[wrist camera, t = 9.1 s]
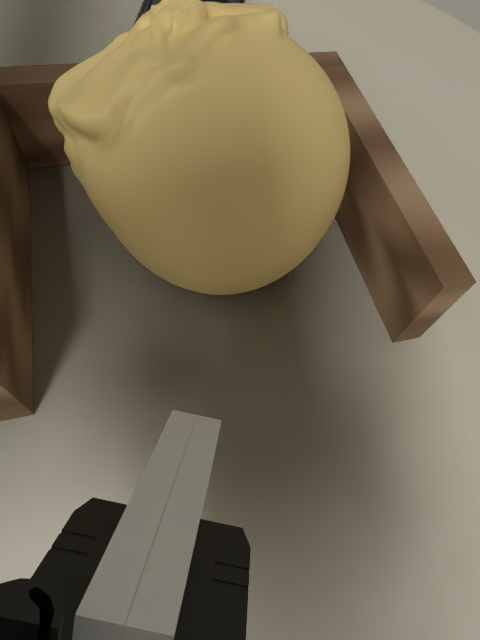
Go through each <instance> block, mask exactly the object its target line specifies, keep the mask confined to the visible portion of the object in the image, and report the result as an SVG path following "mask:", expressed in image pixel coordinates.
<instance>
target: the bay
mask: <svg viewBox="0 0 480 640" xmlns="http://www.w3.org/2000/svg"><path fill="white" fill-rule="evenodd" d="M309 54H310V55H311V56H312V57H313V58H314V59H315V60H316V62H317V63H318V64H319V65H320V66H321V68H322V69H323V70H324V72H325V73H326V74H327V76H328V77H329V79H330V81H331V82H332V84H333V86H334V88H335V90H336V91H337V94H338V96H339V98H340V100H341V103H342V106H343V109H344V112H345V115H346V119H347V124H348V130H349V137H350V166H349V174H348V180H347V184H346V189H345V192H344V195H343V199H342V201H341V204H340V207H339V209H338V211H337V214H336V216H335V218H336V220H337V222H338V224H339V227H340V229H341V231H342V233H343V235H344V237H345V240H346V242H347V244H348V246H349V248H350V250H351V253H352V255H353V257H354V259H355V261H356V263H357V266H358V268H359V270H360V272H361V274H362V276H363V279H364V281H365V283H366V285H367V287H368V289H369V292H370V294H371V296H372V298H373V300H374V303H375V305H376V307H377V309H378V311H379V313H380V316H381V318H382V320H383V322H384V324H385V326H386V329H387V331H388V333H389V335H390V337H391V339H392V342H398V341H403V340H408V339H413V338H418V337H420V336H421V335H422V334H423V333H424V332H425V331H426V330H427V329H428V328H429V327H430V326H431V325H432V324H433V323H434V322H435V321H436V320H438V319H439V318H440V317H441V316H442V315H443V314H444V313H445V312H446V311H447V310H448V309H449V308H450V307H451V306H452V305H453V304H454V303H455V302H456V301H457V300H458V299H459V298H460V297H461V296H462V295H463V294H464V293H465V292H466V291H467V290H468V289H469V288H470V287H472V286H473V285H474V284H475V283H476V281H475V279H474V277H473V276H472V274H471V272H470V271H469V269H468V268H467V266H466V264H465V263H464V261H463V259H462V258H461V256H460V254H459V253H458V251H457V249H456V248H455V246H454V245H453V243H452V241H451V240H450V238H449V236H448V235H447V233H446V231H445V230H444V228H443V226H442V225H441V223H440V221H439V220H438V218H437V217H436V215H435V213H434V212H433V210H432V208H431V207H430V205H429V203H428V202H427V200H426V198H425V197H424V195H423V194H422V192H421V190H420V189H419V187H418V185H417V184H416V182H415V180H414V179H413V177H412V175H411V174H410V172H409V171H408V169H407V167H406V166H405V164H404V162H403V161H402V159H401V157H400V156H399V154H398V152H397V151H396V149H395V147H394V146H393V144H392V143H391V141H390V139H389V138H388V136H387V134H386V133H385V131H384V129H383V128H382V126H381V124H380V123H379V121H378V120H377V118H376V116H375V115H374V113H373V111H372V110H371V108H370V106H369V105H368V103H367V101H366V100H365V98H364V97H363V95H362V93H361V92H360V90H359V88H358V87H357V85H356V83H355V82H354V80H353V78H352V77H351V75H350V74H349V72H348V70H347V69H346V67H345V65H344V64H343V62H342V60H341V59H340V57H339V55H338V54H337V52H336V51H335V52H314V53H309ZM78 64H79V63H77V64H55V65H34V66H12V67H0V421H2V420H7V419H12V418H17V417H22V416H27V415H32V414H34V392H33V340H32V288H31V236H30V184H29V168H39V167H50V166H61V165H71V163H70V160H69V158H68V157H67V155H66V153H65V151H64V142H65V139H64V136H63V134H62V133H61V132H60V131H59V130H58V128H57V127H56V125H55V123H54V119H53V117H52V115H51V113H50V111H49V107H48V98H49V96H50V93H51V91H52V88H53V86H54V84H55V82H56V81H57V79H58V78H59V77H60V76H61V75H63V74H64V73H65V72H67V71H68V70H70V69H71V68H73V67H75V66H76V65H78Z"/></svg>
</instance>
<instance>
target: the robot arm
mask: <svg viewBox="0 0 480 640" xmlns="http://www.w3.org/2000/svg"><path fill="white" fill-rule="evenodd" d="M221 421H222V420H219V419H214V418H209V417H204V416H200V415H195V414H190V413H185V412H181V411H176V410H172V412H171V414H170V416H169V419H168V421H167V423H166V425H165V427H164V429H163V431H162V433H161V435H160V437H159V440H158V442H157V444H156V446H155V448H154V450H153V452H152V454H151V456H150V458H149V460H148V463H147V465H146V467H145V469H144V471H143V473H142V475H141V477H140V479H139V481H138V484H137V486H136V488H135V490H134V492H133V494H132V496H131V498H130V500H129V502H128V505H125V504H120V503H116V502H111V501H106V500H102V499H97V498H92V499H90V500H89V501H87V502H86V503H85V504H83V505H82V506H81V507H79V508H78V509H76V510H75V511H74V512H73V514H72V515H71V517H70V518H69V520H68V521H67V523H66V525H65V526H64V528H63V529H62V532H61V534H59V535H58V537H57V539H56V540H55V542H54V543H53V545H52V547H51V550H49V551H48V553H47V554H46V556H45V557H44V559H43V560H42V562H41V563H40V565H39V567H38V568H37V570H36V571H35V573H34V574H33V576H32V577H31V579H22V578H20V579H16V580H12V581H9V582H5V583H1V584H0V640H246V622H247V603H248V584H249V565H250V545H249V543H248V540H247V538H246V535H245V533H244V531H243V528H240V527H235V526H230V525H226V524H221V523H216V522H212V521H207V520H202V519H201V517H202V513H203V508H204V503H205V499H206V494H207V489H208V484H209V479H210V475H211V470H212V465H213V460H214V455H215V450H216V445H217V441H218V436H219V431H220V426H221Z"/></svg>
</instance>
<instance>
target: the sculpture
mask: <svg viewBox="0 0 480 640" xmlns="http://www.w3.org/2000/svg"><path fill="white" fill-rule="evenodd" d="M48 107H49V111H50V113H51V115H52V117H53V119H54V123H55V125H56V127H57V128H58V130H59V131H60V132H61V133H62V134H63V136H64V139H65V142H64V151H65V153H66V155H67V157H68V158H69V160H70V163H71V169H72V171H73V173H74V175H75V176H76V178H77V179H78V180H79V181H80V182H81V184H82V185H83V187H84V188H85V191H86V193H87V195H88V197H89V198H90V200H91V202H92V204H93V205H94V207H95V208H96V210H97V211H98V213H99V214H100V216H101V217H102V218H103V220H104V221H105V222H106V224H107V225H108V226H109V228H110V229H111V230H112V231H113V233H114V234H115V235H116V237H117V238H118V239H119V240H120V242H121V243H122V244H123V246H124V247H125V248H126V249H127V250H128V251H129V252H130V253H131V254H132V255H133V257H135V258H136V259H137V260H138V261H139V262H140V263H141V264H142V265H143V266H145V267H146V268H147V269H148V270H150V271H151V272H153V273H154V274H156V275H157V276H159V277H161V278H162V279H164V280H166V281H168V282H170V283H172V284H174V285H176V286H179V287H182V288H184V289H187V290H191V291H195V292H199V293H204V294H212V295H231V294H238V293H244V292H248V291H252V290H255V289H258V288H260V287H263V286H265V285H268V284H270V283H272V282H274V281H276V280H278V279H279V278H281V277H283V276H284V275H286V274H287V273H289V272H290V271H291V270H293V269H294V268H295V267H296V266H297V265H299V264H300V263H301V262H302V261H303V260H304V259H305V258H306V257H307V256H308V255H309V254H310V253H311V252H312V251H313V249H314V248H315V247H316V246H317V245H318V243H319V242H320V241H321V239H322V238H323V236H324V235H325V233H326V232H327V230H328V229H329V227H330V225H331V223H332V222H333V220H334V218H335V216H336V214H337V211H338V209H339V207H340V204H341V201H342V199H343V195H344V192H345V189H346V184H347V180H348V174H349V166H350V137H349V130H348V124H347V119H346V115H345V112H344V109H343V106H342V103H341V100H340V98H339V96H338V94H337V91H336V90H335V88H334V86H333V84H332V82H331V81H330V79H329V77H328V76H327V74H326V73H325V72H324V70H323V69H322V68H321V66H320V65H319V64H318V63H317V62H316V60H315V59H314V58H313V57H312V56H311V55H310V54H309V53H308V52H307V51H306V50H305V49H304V48H302V47H301V46H300V45H299V44H298V43H296V42H295V41H294V40H292V39H291V38H290V37H288V23H287V19H286V17H285V16H284V14H283V13H282V12H281V11H280V10H278V9H276V8H275V7H273V6H270V5H265V4H250V3H219V2H203V1H200V0H162V1H161V2H160V3H159V4H157V5H152V6H151V9H150V10H149V11H147V12H145V14H143V15H142V16H141V17H140V18H139V19H138V20H137V21H136V23H135V25H134V27H133V28H132V29H131V30H130V31H128V32H125V33H122V34H120V35H118V36H117V37H116V38H115V39H114V40H113V41H112V42H111V43H110V44H109V45H108V46H107V47H106V48H104V49H103V50H102V51H100V52H99V53H97V54H95V55H93V56H92V57H90V58H88V59H86V60H84V61H83V62H81V63H79V64H78V65H76V66H75V67H73V68H71V69H70V70H68V71H67V72H65V73H64V74H63V75H61V76H60V77H59V78H58V79H57V81H56V82H55V84H54V86H53V88H52V91H51V93H50V96H49V98H48Z"/></svg>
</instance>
